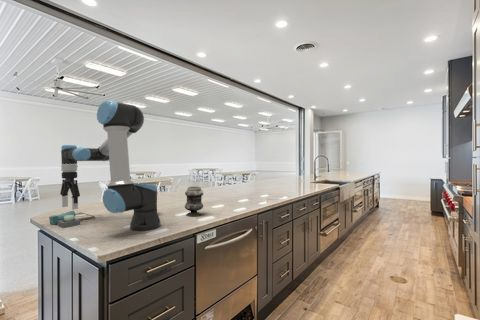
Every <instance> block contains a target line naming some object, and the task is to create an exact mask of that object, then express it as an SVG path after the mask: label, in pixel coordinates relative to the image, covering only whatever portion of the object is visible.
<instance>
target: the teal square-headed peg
mask: <svg viewBox="0 0 480 320" xmlns="http://www.w3.org/2000/svg"><path fill="white" fill-rule="evenodd" d="M75 213H76V211H75V210H71V211H68V212H64V213H61V214H57V215H55V214H53V215H50V216H49V217H48V218H49V223H50V225H57V221H60V220H64V216H66V215H74V217H75V216H76V214H75Z"/></svg>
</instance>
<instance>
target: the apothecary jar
mask: <svg viewBox="0 0 480 320" xmlns="http://www.w3.org/2000/svg"><path fill="white" fill-rule="evenodd" d="M184 195H185V196H186V203H185V204H184V208H185V210H187V211H189V212H188V213H186V216H187V217H199V216H202V213H201V212H200V211H201V210H202V209H203V208H204V204H203V202H202V197H203V195H204V191H203V190H202V187H201V186H188V187H187V189H186V190H185V192H184Z"/></svg>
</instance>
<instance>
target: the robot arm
mask: <svg viewBox="0 0 480 320" xmlns="http://www.w3.org/2000/svg"><path fill="white" fill-rule="evenodd" d="M96 119H97V121H98V123H99V124H100V125H102V126H103V127H102V128H103V130H104V131H105V132H106V133H107V138H106V139H105V140H104V142H102V144H100V146H98V148H94V147H92V148H91V147H81V146H80V147H77V145H75V144H63V145H62V146H61V148H60V150H61V151H60V152H61V155H60V156H61V158H60V159H61V166H60V167H61V179H62V181H61V189H60V193H59V194H60V195H61V203H62V204H61V207H62V208H67V207H69V197H68V196H69V191H70V193H71V211H74V210H77V209H79V197H80V196H81V194H80V190H79V186H78V180H77V179H76V178H78V167H79V166H78V162H107V161H109V174H110V182H109V183H108V184H107V189H105V190H104V191H103V194H102V203H103V206H104V207H105V209H106V210H107V211H108V212H109V213H111V214H119V213H120V214H122V213H124V212H129V211H133V214H132V217H131V221H130V223H129V228H130V230H133V231H150V230H153V229H154V230H155V229H158V228H159V227H160V226H161V220H160V216H159V213H158V193H157V192H158V186H157V185H156V184H153V183H139V182H138V183H137V182H136V183H135V182H133V180H131V172H130V171H131V170H130V169H131V168H130V157H129V146H128V145H129V144H128V143H129V142H128V138H130V136H132V135H133V134H136V133H138V132H139V131H140V130H141V129H142V127H143V125H144V122H145V116H144V113H143V112H142V110H141V109H140V108H139V107H137V106H136V105H133V104H129V103H128V104H127V103H123V102H119V101H117V100H108V99H107V100H103V102H102V103H100V104H99V107H98V108H97V112H96Z"/></svg>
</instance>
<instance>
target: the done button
mask: <svg viewBox="0 0 480 320" xmlns="http://www.w3.org/2000/svg"><path fill="white" fill-rule="evenodd" d="M70 221H74V215H66V216H64V222H70Z"/></svg>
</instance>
